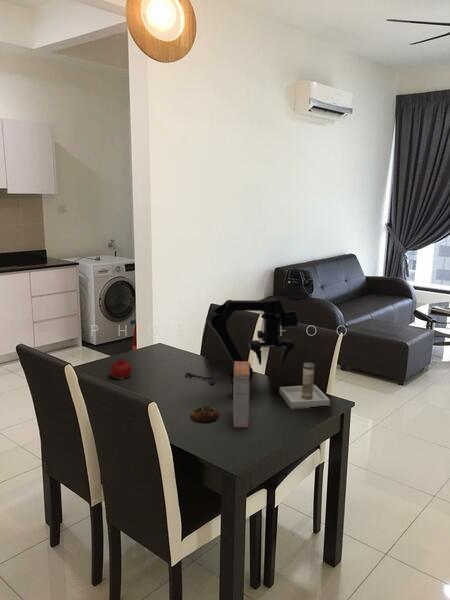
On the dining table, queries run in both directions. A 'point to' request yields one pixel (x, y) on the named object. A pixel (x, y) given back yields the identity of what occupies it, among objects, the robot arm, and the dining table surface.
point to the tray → (296, 401)
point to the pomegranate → (120, 369)
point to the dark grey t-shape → (206, 377)
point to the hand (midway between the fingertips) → (270, 364)
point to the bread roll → (204, 414)
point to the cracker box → (241, 394)
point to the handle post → (308, 381)
